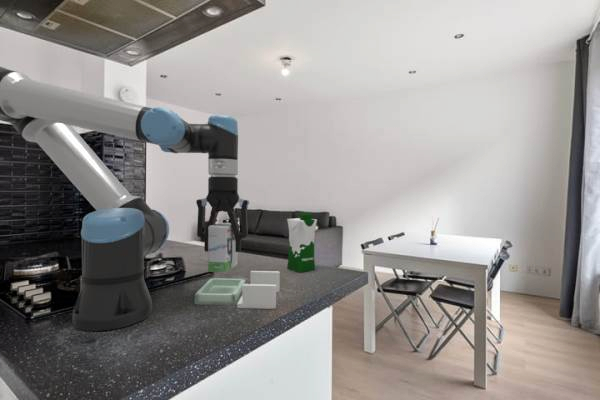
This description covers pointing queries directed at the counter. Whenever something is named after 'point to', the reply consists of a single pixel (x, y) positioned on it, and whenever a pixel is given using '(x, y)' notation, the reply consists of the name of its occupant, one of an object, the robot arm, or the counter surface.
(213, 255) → the ink box
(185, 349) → the counter surface
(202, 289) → the tray
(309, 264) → the milk carton
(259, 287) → the bay
